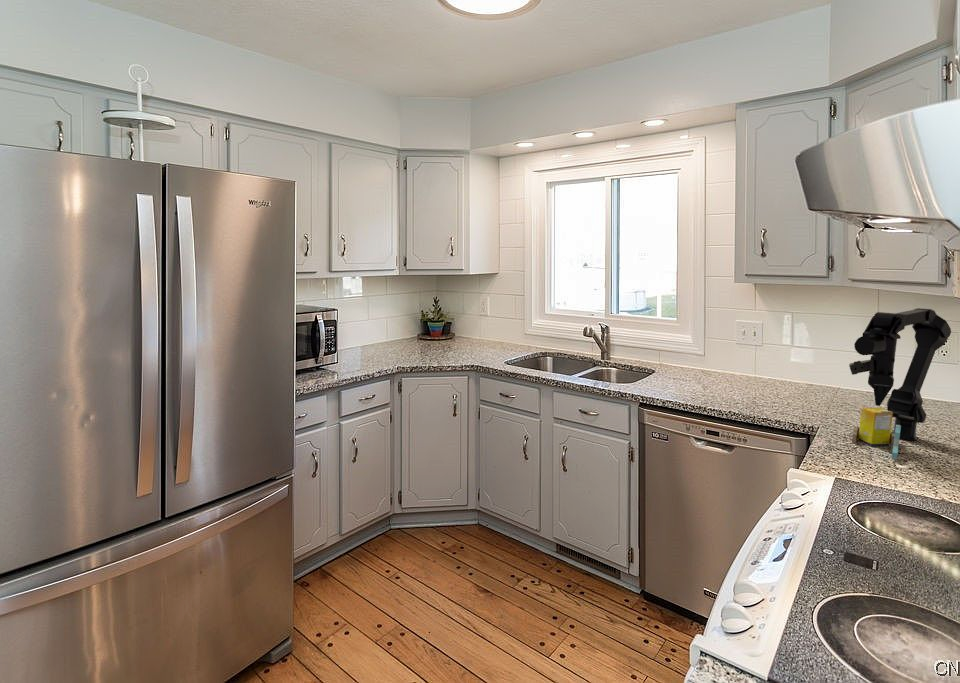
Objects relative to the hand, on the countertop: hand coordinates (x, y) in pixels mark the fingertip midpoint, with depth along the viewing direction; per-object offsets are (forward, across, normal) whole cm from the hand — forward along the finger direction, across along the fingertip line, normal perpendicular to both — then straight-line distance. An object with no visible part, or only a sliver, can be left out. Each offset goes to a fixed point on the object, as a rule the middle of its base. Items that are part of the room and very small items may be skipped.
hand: (877, 403), depth 176 cm
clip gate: (+13, +11, +5) cm, 18 cm away
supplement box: (+13, 0, 0) cm, 13 cm away
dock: (+13, 0, 0) cm, 13 cm away
